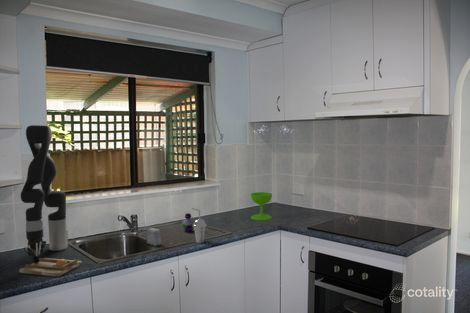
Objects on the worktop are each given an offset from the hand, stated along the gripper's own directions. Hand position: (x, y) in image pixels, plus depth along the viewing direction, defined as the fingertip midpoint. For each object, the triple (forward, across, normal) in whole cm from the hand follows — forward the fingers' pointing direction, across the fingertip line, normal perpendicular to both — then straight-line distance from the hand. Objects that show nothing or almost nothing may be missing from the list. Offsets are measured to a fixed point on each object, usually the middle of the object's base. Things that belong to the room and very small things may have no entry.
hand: (36, 262), depth 194 cm
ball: (-1, 0, +15) cm, 15 cm away
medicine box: (+2, -47, +41) cm, 63 cm away
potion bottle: (+2, -77, +52) cm, 93 cm away
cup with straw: (+2, -57, +66) cm, 87 cm away
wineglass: (+2, -124, +92) cm, 155 cm away
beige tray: (+2, 0, +9) cm, 9 cm away
